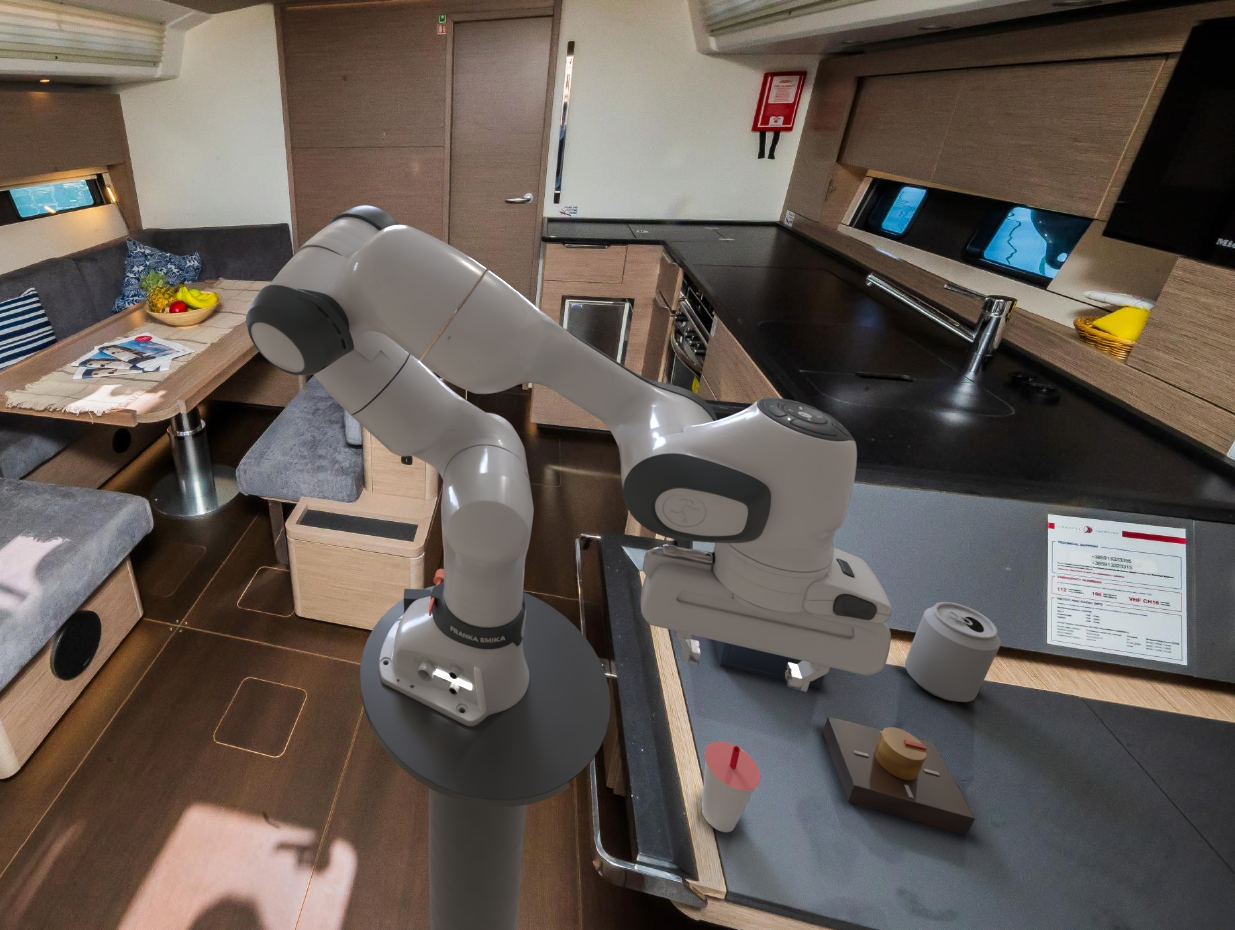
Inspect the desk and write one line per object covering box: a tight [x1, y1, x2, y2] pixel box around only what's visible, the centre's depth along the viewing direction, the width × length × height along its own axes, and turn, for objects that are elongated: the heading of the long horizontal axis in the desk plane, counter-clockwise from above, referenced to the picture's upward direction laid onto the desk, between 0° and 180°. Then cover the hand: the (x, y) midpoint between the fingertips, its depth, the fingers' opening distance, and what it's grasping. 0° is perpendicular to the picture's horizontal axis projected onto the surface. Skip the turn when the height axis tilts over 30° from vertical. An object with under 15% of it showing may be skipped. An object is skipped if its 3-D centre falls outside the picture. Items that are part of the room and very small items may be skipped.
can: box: [904, 601, 1002, 703], centre depth 79 cm, size 8×8×12 cm
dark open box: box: [713, 640, 826, 690], centre depth 87 cm, size 13×13×8 cm
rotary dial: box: [822, 716, 976, 836], centre depth 69 cm, size 11×9×3 cm
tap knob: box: [874, 726, 927, 780], centre depth 68 cm, size 4×4×4 cm
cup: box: [701, 740, 761, 833], centre depth 65 cm, size 5×5×12 cm
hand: (740, 671), depth 59 cm, fingers open, 8 cm apart
